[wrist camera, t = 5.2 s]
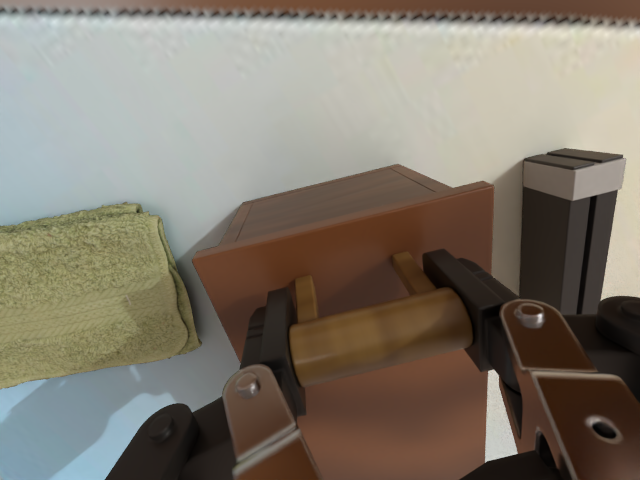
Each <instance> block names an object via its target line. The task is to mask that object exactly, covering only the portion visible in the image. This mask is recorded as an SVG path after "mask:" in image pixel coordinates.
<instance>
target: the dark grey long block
mask: <svg viewBox="0 0 640 480" xmlns="http://www.w3.org/2000/svg"><path fill="white" fill-rule="evenodd" d="M625 165H626V158H623V155H619V154H610V153H602V152H593V151H584V150H576V149H567V148H564V149H560V150H556V151H552V152H548V153H547V155H544V154H540V155H536V156H532V157H528V158H525V159H524V168H523V186H524V189H523V219H522V249H521V279H520V299H530V300H536V301H540V302H543V303H546V304H548V305H550V306H552V307H554V308H555V309H557V310H558V311H559V312H560V313H561V314H562V315H578V314H597V309H598V304H599V303H600V300H601V294H602V287H603V281H604V275H605V268H606V262H607V255H608V249H609V243H610V236H611V230H612V224H613V217H614V211H615V204H616V198H617V192H618V190H619V189H621V188H622V184H623V177H624V171H625Z"/></svg>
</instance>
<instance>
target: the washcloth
mask: <svg viewBox="0 0 640 480" xmlns="http://www.w3.org/2000/svg"><path fill="white" fill-rule="evenodd" d="M201 344H202V342H201V341H200V339H199V337H198V335H197V332H196V330H195V326H194V321H193V315H192V310H191V306H190V301H189V298H188V294H187V290H186V288H185V286H184V284H183V281H182V279H181V277H180V276H179V274H178V271H177V267H176V264H175V261H174V258H173V255H172V253H171V250H170V247H169V245H168V241H167V240H166V237H165V233H164V228H163V223H162V219H161V217H159V216H157V215H149V211H147V212H143V211H142V207H141V205H140V204H128V203H127V202H125V203H123V204H116V205H109V206H104V205H102V207H101V208H97V209H95V210H90V211H86V210H82V211H79V212H75V213H71V214H67V215H61V216H59V217H57V216H54V217H53V218H48V217H47V218H42V219H38V220H36V221H26V222H23V223H21V224H18V225H11V226H0V389H2V388H9V387H13V386H17V385H18V384H20V383H24V382H27V381H34V380H42V379H49V378H54V377H63V376H67V375H72V374H75V373H82V372H88V371H93V370H98V369H103V368H109V367H114V366H123V365H131V364H140V363H147V362H154V361H159V360H163V359H166V358H169V359H170V358H171V356H175V355H181V354H186V353H187V352H190V351H193V350H195V349H197V348H198V347H200V346H201Z"/></svg>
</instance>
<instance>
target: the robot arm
mask: <svg viewBox="0 0 640 480" xmlns="http://www.w3.org/2000/svg"><path fill="white" fill-rule="evenodd" d="M422 263H423V272H424V273H425V274H426V276H427V277H428V278H429V279H430V281H431V282H432V283H433V285H434V286H435V287H436V288H437V289H439V288H443V287H450V288H452V289H453V290H455V291H456V292H457V294H458V295H459V296H460V298H461V299H462V301H463V303H464V305H465V307H466V309H467V311H468V313H469V316H470V319H471V323H472V327H473V335H474V339H473V343H472V345H471V346H470V347H468V348H465V349H464V350H465V351H466V353H467V354H468V356H469V357H470V358H471V360H472V361H473V362H474V364H475V365H476V366H477V368H478V369H479V371H480V372H485V371H489V370H493V369H494V370H495V371H496V372H497V373H498V375H499V387H500V391H501V394H502V398H503V401H504V405H505V408H506V412H507V415H508V419H509V422H510V426H511V429H512V433H513V436H514V440H515V443H516V447H517V451H518V454H516V455H512V456H508V457H504V458H500V459H496V460H491V461H487V462H486V463H484V464H483V465H481V466H479V467H478V468H476V469H475V470H473V471H472V472H470V473H468V474H467V475H465V476H464V477H462V478H461V479H459V480H640V298H637V297H630V296H614V297H609V298H606V299H603V300H602V301H600V303H599V304H598V309H597V314H578V315H562V314H561V313H560V312H559V311H558V310H557V309H555V308H554V307H552V306H550V305H548V304H546V303H543V302H540V301H536V300H530V299H520V298H519V297H518V296H516V295H515V294H514V293H513V292H511V291H510V290H509V289H508V288H506V287H505V286H504V285H503V284H501V283H500V282H499V281H498V280H496V279H495V278H493V276H491V275H490V274H489V273H488V272H485V270H484V269H483V268H482V267H480V266H479V265H478V264H477V263H475V262H473V261H470V260H467V259H465V258H458V259H456V258H455V257H454V256H452V255H451V254H450V253H449V252H448V251H447V250H446V249H444V248H442V249H438V250H434V251H430V252H426V253H423V255H422ZM292 324H297V315H296V309H295V306H294V303H293V299H292V296H291V293H290V290H289V288H288V287H285V288H281V289H277V290H273V291H269V292H268V296H267V304H266V306H264V307H260V308H257V309H256V310H255V312H254V313H253V314H252V316H251V317H250V320H249V325H248V331H247V335H246V340H245V345H244V350H243V355H242V360H241V365H240V370H239V371H238V372H236V373H235V374H234V375H233V376H232V377H231V378H230V379H229V380H228V381H227V383H226V385H225V387H224V389H223V393H222V396H221V397H220V398H219V399H217V400H215V401H214V402H212V403H210V404H208V405H206V406H204V407H202V408H200V409H198V410H197V411H195V412H193V413H192V412H191V410H190V408H189V407H188V406H187V405H185V404H180V403H177V404H172V405H169V406H166V407H164V408H162V409H160V410H159V411H157V412H156V413H154V414H153V415H152V416H150V417H149V418H148V419H147V420H146V421H145V422H144V423H143V425H142V426H141V427H140V428H139V430H138V431H137V433H136V434H135V436H134V437H133V439H132V440H131V442H130V443H129V445H128V446H127V448H126V449H125V451H124V452H123V454H122V455H121V456H120V458H119V459H118V461H117V462H116V464H115V465H114V467H113V468H112V470H111V471H110V473H109V474H108V476H107V477H106V479H105V480H324V479H323V477H322V475H321V473H320V471H319V468H318V466H317V464H316V462H315V460H314V458H313V455H312V453H311V451H310V449H309V447H308V445H307V443H306V440H305V438H304V436H303V434H302V432H301V430H300V428H299V426H297V417H299V416H303V415H307V413H306V395H305V388H304V387H301V386H300V385H299V383H298V381H297V378H296V376H295V372H294V369H293V365H292V360H291V355H290V348H289V338H288V333H289V327H290V326H291V325H292Z"/></svg>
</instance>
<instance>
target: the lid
mask: <svg viewBox="0 0 640 480" xmlns="http://www.w3.org/2000/svg"><path fill="white" fill-rule="evenodd" d="M493 209H494V186H493V185H491V184H489V183H487V182H485V181H480V182H476V183H472V184H467V185H463V186H459V187H455V188H451V189H447V190H443V191H439V192H435V193H431V194H427V195H423V196H419V197H415V198H411V199H407V200H403V201H399V202H395V203H391V204H387V205H383V206H379V207H375V208H370V209H366V210H362V211H358V212H354V213H350V214H346V215H342V216H338V217H334V218H330V219H326V220H322V221H318V222H314V223H310V224H306V225H302V226H298V227H294V228H290V229H286V230H282V231H277V232H273V233H269V234H265V235H261V236H257V237H253V238H249V239H245V240H241V241H237V242H233V243H229V244H225V245H221V246H217V247H213V248H209V249H205V250H201V251H197V252H196V254H195V255H194V257H193V259H192V263H193V265H194V267H195V269H196V271H197V273H198V275H199V277H200V279H201V281H202V284H203V286H204V288H205V290H206V292H207V294H208V296H209V298H210V300H211V302H212V304H213V307H214V309H215V311H216V313H217V315H218V317H219V319H220V321H221V323H222V325H223V327H224V330H225V332H226V334H227V336H228V338H229V340H230V342H231V344H232V346H233V348H234V350H235V353H236V355H237V357H238V359H239V361H240V363H241V360H242V355H243V350H244V345H245V340H246V335H247V331H248V325H249V320H250V317H251V316H252V314H253V313H254V312H255V310H256V309H257V308H260V307H264V306H266V304H267V296H268V292H269V291H273V290H277V289H281V288H285V287H288V288H289V290H290V293H291V296H292V299H293V303H294V306H295V309H296V315H297V324H292V325H291V326H290V327H289V333H288V338H289V348H290V355H291V360H292V365H293V369H294V372H295V376H296V378H297V381H298V383H299V385H300V386H301V387H304V388H305V395H306V413H307V415H303V416H299V417H297V426H299V428H300V430H301V432H302V434H303V436H304V438H305V440H306V443H307V445H308V447H309V449H310V451H311V453H312V455H313V458H314V460H315V462H316V464H317V466H318V468H319V471H320V473H321V475H322V477H323V479H324V480H459V479H461V478H462V477H464V476H465V475H467V474H468V473H470V472H472V471H473V470H475V469H476V468H478V467H479V466H481V465H483V464H484V463H485V441H486V412H487V383H488V371H485V372H480V371H479V369H478V368H477V366H476V365H475V364H474V362H473V361H472V360H471V358H470V357H469V356H468V354H467V353H466V351H465V350H464V349H465V348H468V347H470V346H471V345H472V343H473V339H474V335H473V327H472V323H471V319H470V316H469V313H468V311H467V309H466V307H465V305H464V303H463V301H462V299H461V298H460V296H459V295H458V294H457V292H456V291H455V290H453V289H452V288H450V287H443V288H439V289H437V288H436V287H435V286H434V285H433V283H432V282H431V281H430V279H429V278H428V277H427V276H426V274H425V273H424V272H423V263H422V255H423V253H426V252H430V251H434V250H438V249H442V248H444V249H446V250H447V251H448V252H449V253H450V254H451V255H452V256H454V257H455V258H456V259H458V258H465V259H467V260H470V261H473V262H475V263H477V264H478V265H479V266H480V267H482V268H483V269H484V270H485V272H488V273H489V274H490V275H491V267H492V238H493Z"/></svg>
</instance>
